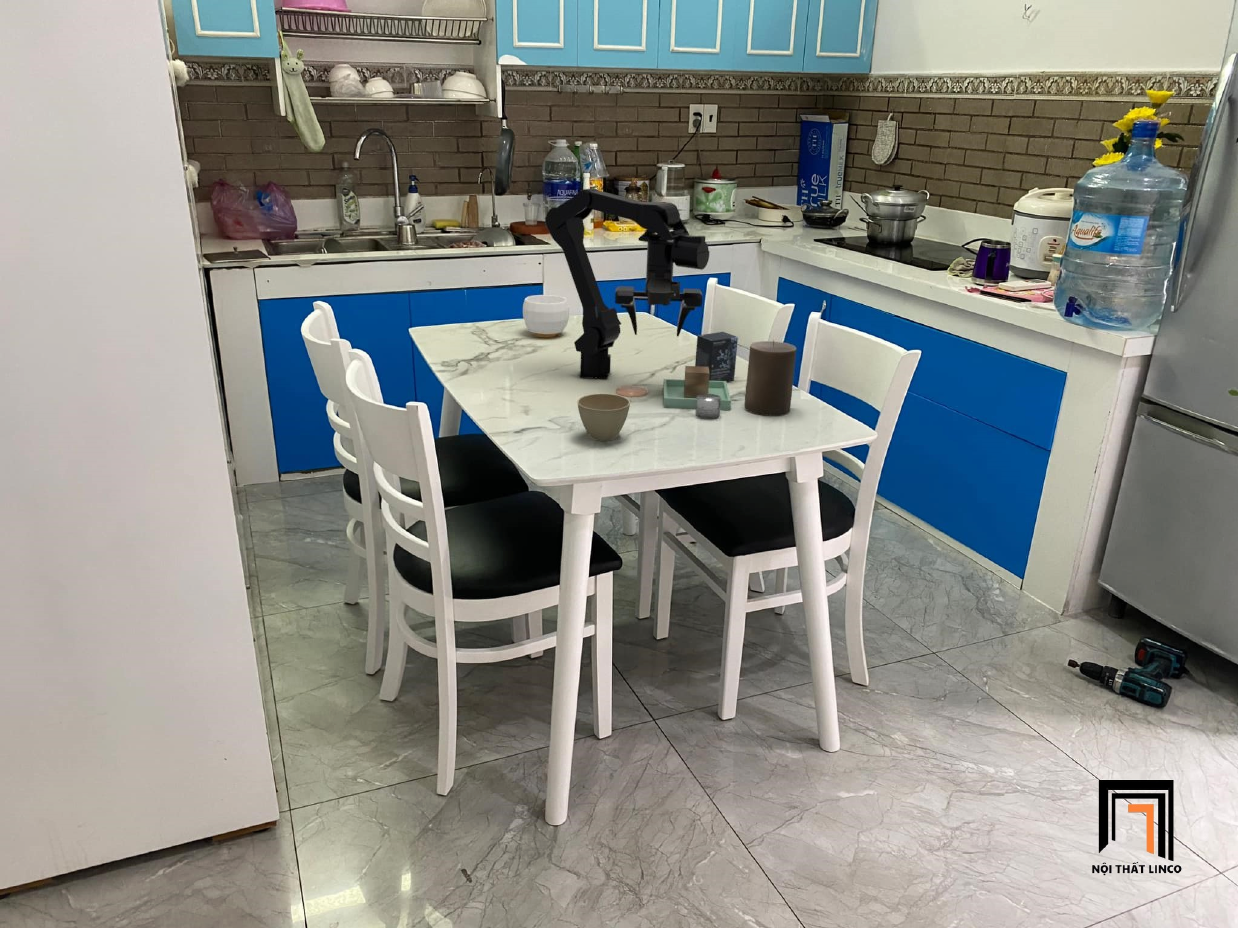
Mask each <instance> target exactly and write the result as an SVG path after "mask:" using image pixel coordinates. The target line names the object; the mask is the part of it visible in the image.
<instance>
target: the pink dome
mask: <svg viewBox="0 0 1238 928" xmlns="http://www.w3.org/2000/svg"><path fill="white" fill-rule="evenodd" d="M615 393H616V395H620V396H623V397H626V398H640V397H644V396H646V395H648V393H649V392H648V388H646V387H643V386H638V385H623V386H618V387H617V388H616V389H615Z"/></svg>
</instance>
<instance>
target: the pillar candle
mask: <svg viewBox="0 0 1238 928" xmlns="http://www.w3.org/2000/svg"><path fill="white" fill-rule="evenodd" d="M748 354H749V355H748V364H747V365H748V366H747V374H746V377H747V378H746V384H745V395H744V409H745V410H746V411H749V412H751V413H752V414H756V415H760V416H775V417H779V416H784V415H787V414H789V413H790V412H791V406H792V405H791V403H792V394H793V386H794V377H795V367H796V366H795V365H796V357H797V347H796V346H795V345H794V344H790V343H788V342H783V341H775V340H774V339H773V340H772V341H769V340H767V341H766V340H765V341H764V340H763V341H762V340H761V341H755V342H751V343H750V345H749V353H748Z"/></svg>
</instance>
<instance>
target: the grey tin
mask: <svg viewBox="0 0 1238 928" xmlns="http://www.w3.org/2000/svg"><path fill="white" fill-rule="evenodd" d="M720 407H721V397H720V396H718V395H714V394H700V395H698V396H697V401H696V409H695V418H698V419H702V420H709V421H711V420H717V419H719V418H720V417H721V410H720Z"/></svg>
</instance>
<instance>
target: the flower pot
mask: <svg viewBox="0 0 1238 928" xmlns="http://www.w3.org/2000/svg"><path fill="white" fill-rule="evenodd" d="M576 403H577V409H578V413H579V416H580V420H581V422H582V425H583V426H584V429H585V431H586V432H587V435H588V436H589V437H590V439H592V440H595V441H600V442H601V441H602V442H606V441H612V440H615V439H616V438H617V437H618V435H619V434H620V432H621V431H622V428H623V427H624V425H625V423H626V421H627V419H628V415H629V411H630V406H631V401H630V399H629V398H628V397H625V396H621V395H618V394H614V393H603V392H602V393H599V392H598V393H590V394H587V395H586V394H585V395H583V396H581V397H579V398H578V399H577V402H576Z"/></svg>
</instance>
